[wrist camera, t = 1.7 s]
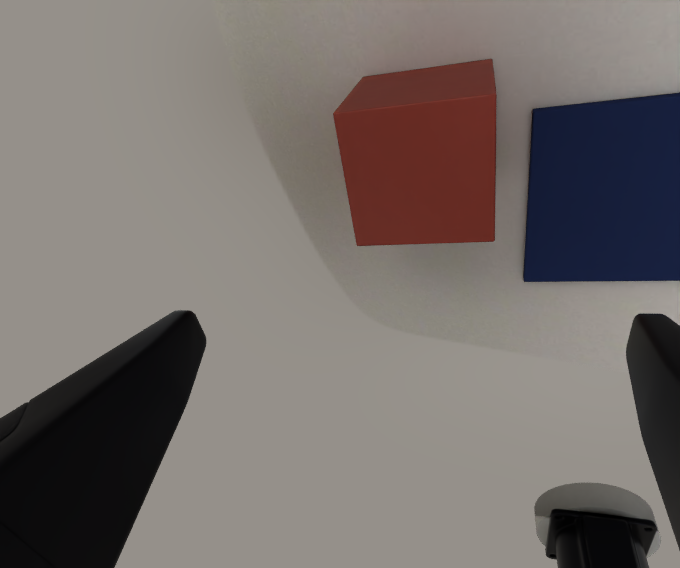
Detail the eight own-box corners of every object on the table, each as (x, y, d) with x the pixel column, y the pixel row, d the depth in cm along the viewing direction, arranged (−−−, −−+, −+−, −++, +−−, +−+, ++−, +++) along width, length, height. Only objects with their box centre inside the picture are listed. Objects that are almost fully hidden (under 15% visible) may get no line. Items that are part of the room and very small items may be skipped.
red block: (491, 183, 20) (494, 242, 16) (378, 190, 22) (356, 246, 18) (492, 58, 17) (496, 93, 13) (362, 76, 19) (332, 113, 15)
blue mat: (720, 275, 20) (724, 280, 20) (523, 277, 22) (523, 282, 22) (787, 80, 16) (793, 83, 15) (532, 108, 18) (533, 111, 18)
